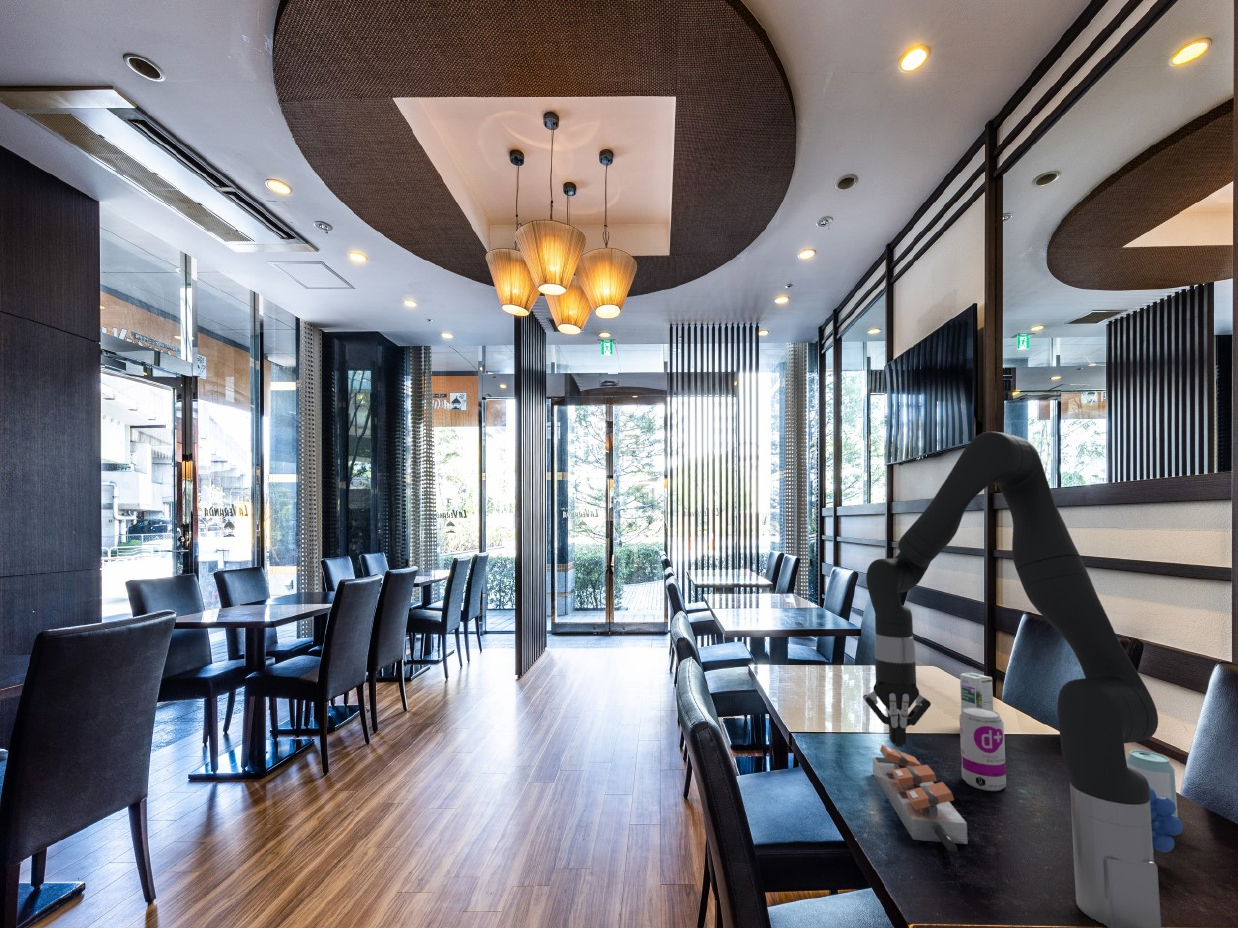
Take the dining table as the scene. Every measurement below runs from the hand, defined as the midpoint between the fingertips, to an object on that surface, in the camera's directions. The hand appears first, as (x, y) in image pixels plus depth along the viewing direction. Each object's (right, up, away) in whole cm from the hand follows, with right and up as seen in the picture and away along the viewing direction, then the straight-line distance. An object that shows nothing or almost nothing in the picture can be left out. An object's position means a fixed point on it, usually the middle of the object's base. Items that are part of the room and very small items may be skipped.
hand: (898, 745), depth 123 cm
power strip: (+2, -11, -4) cm, 12 cm away
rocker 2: (+3, -6, -1) cm, 6 cm away
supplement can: (+23, -13, +9) cm, 27 cm away
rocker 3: (+1, -5, -10) cm, 11 cm away
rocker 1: (+4, -6, +8) cm, 11 cm away
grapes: (+32, -10, -19) cm, 39 cm away
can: (+45, -11, -7) cm, 47 cm away
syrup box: (+41, -16, +42) cm, 61 cm away
